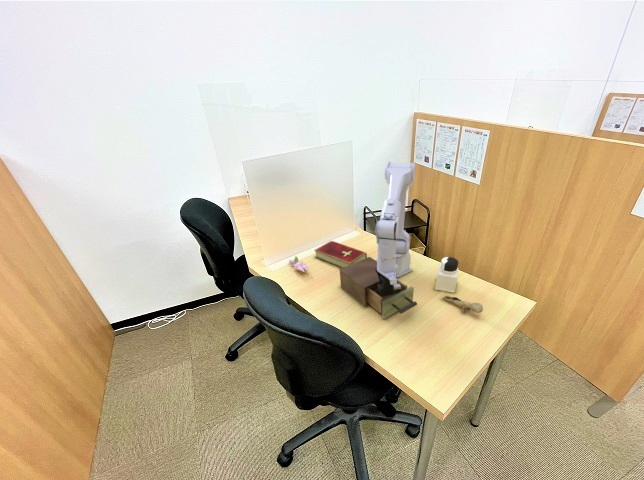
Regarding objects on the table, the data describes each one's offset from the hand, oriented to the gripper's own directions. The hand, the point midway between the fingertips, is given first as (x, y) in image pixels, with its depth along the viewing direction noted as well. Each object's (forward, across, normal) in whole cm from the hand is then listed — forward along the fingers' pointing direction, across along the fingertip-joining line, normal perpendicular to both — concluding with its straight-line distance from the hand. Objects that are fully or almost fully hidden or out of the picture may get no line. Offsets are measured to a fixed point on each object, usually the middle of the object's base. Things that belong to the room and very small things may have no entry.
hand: (385, 290), depth 99 cm
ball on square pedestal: (+8, +5, -27) cm, 28 cm away
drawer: (+7, 0, -2) cm, 7 cm away
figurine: (+8, -9, -25) cm, 28 cm away
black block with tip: (+1, 0, -1) cm, 2 cm away
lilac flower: (+8, +35, +27) cm, 45 cm away
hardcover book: (+8, +38, +8) cm, 40 cm away
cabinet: (+7, +12, +3) cm, 14 cm away
